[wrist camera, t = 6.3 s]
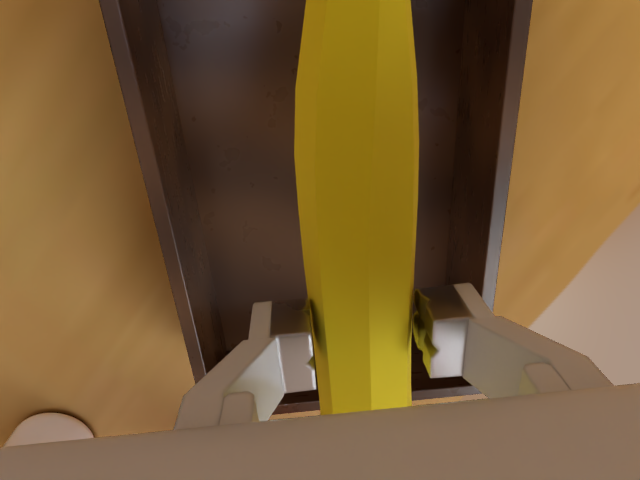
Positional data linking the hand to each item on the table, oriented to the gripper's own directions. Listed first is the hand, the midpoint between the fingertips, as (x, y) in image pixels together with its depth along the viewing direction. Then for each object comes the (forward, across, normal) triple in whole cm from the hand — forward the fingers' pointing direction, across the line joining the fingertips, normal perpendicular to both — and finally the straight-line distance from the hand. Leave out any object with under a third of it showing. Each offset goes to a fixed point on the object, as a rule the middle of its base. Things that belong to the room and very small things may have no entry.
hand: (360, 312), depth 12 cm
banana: (+2, 0, 0) cm, 2 cm away
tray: (+13, 0, +1) cm, 13 cm away
